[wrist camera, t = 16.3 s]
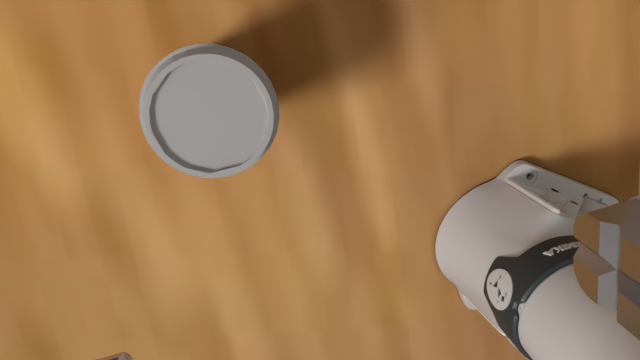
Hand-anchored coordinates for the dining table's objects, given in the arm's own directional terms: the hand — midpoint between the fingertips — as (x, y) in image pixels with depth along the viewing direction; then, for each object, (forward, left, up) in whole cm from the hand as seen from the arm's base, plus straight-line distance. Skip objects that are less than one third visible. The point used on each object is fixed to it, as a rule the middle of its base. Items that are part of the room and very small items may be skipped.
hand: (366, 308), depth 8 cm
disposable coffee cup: (+3, +4, -37) cm, 38 cm away
